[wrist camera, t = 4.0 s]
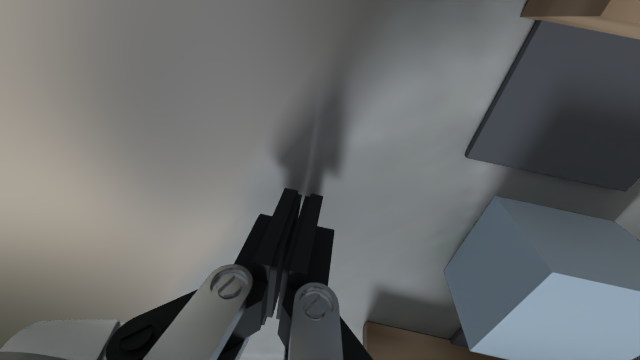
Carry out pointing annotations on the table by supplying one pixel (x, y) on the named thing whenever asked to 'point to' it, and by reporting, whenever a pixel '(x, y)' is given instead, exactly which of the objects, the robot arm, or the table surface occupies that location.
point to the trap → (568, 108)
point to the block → (547, 285)
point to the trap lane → (543, 4)
